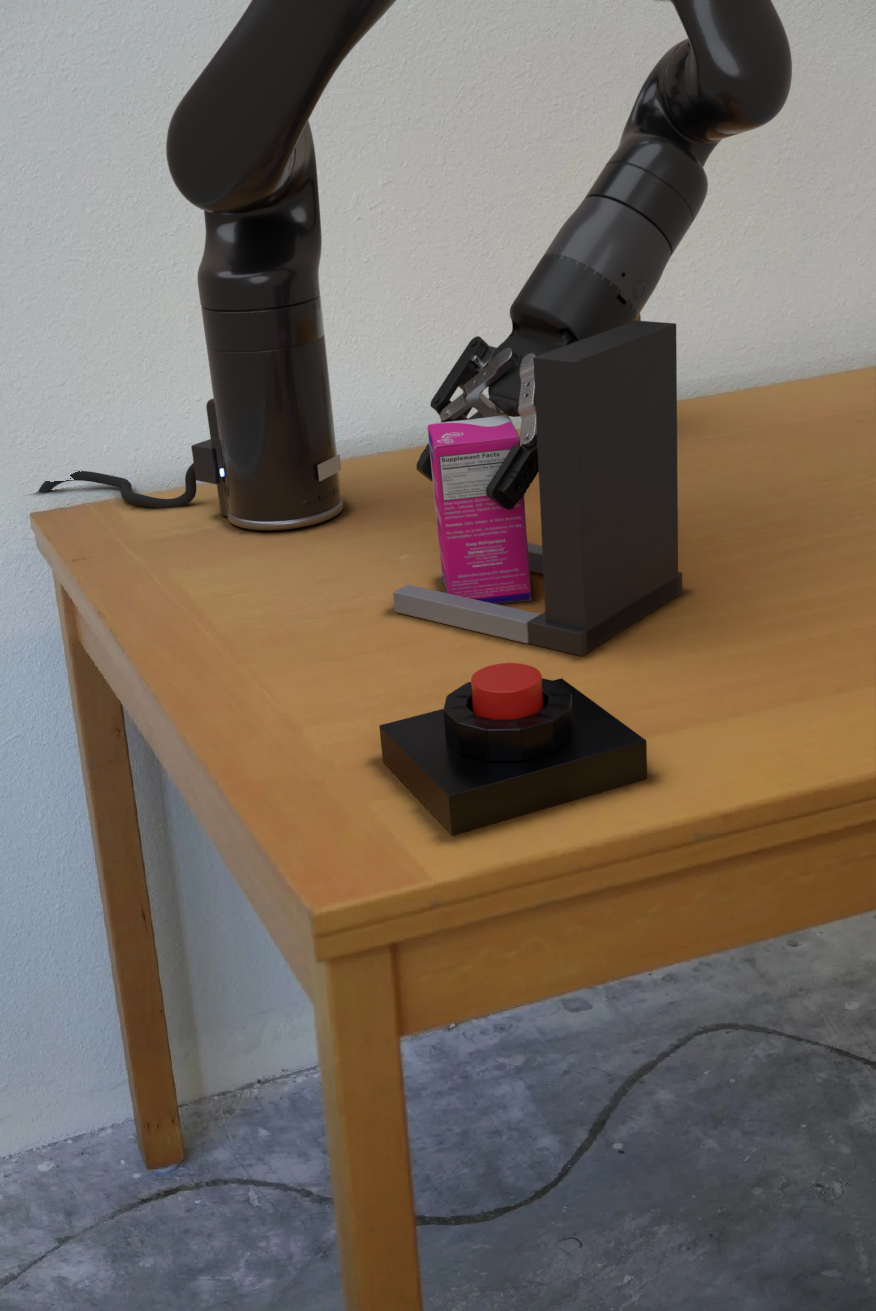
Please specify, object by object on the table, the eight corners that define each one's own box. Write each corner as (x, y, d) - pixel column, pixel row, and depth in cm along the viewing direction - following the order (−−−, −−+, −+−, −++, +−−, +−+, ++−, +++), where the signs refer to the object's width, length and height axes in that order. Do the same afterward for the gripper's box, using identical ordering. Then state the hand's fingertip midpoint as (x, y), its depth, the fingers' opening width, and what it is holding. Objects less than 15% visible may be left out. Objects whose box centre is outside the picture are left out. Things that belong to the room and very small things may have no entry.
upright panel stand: (394, 612, 99) (370, 343, 92) (503, 556, 107) (488, 307, 100) (580, 657, 90) (570, 363, 83) (683, 592, 98) (681, 321, 91)
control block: (452, 835, 72) (446, 762, 70) (382, 761, 79) (375, 694, 78) (647, 778, 75) (646, 708, 74) (563, 713, 83) (560, 648, 81)
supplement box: (438, 580, 104) (426, 420, 99) (522, 572, 104) (513, 413, 100) (445, 610, 99) (433, 443, 94) (533, 601, 99) (525, 435, 94)
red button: (491, 729, 74) (489, 698, 73) (461, 703, 77) (459, 672, 76) (555, 712, 75) (554, 681, 74) (523, 687, 78) (521, 657, 77)
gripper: (493, 241, 102) (366, 439, 101) (630, 259, 91) (489, 481, 90) (557, 306, 107) (436, 496, 106) (694, 331, 95) (561, 543, 94)
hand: (461, 489), depth 98 cm, fingers closed on supplement box, 7 cm apart
